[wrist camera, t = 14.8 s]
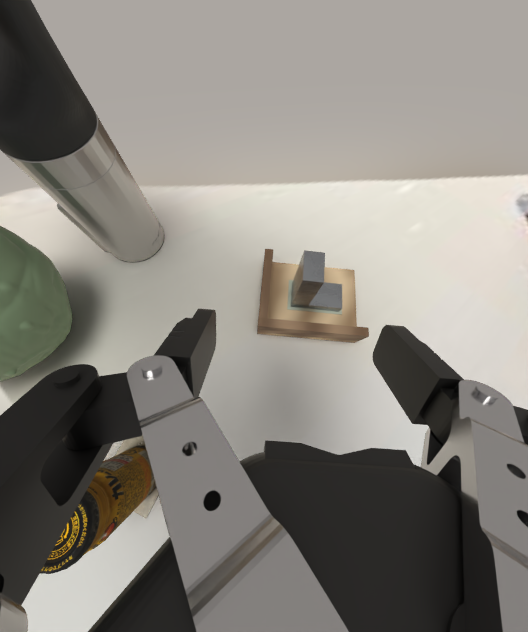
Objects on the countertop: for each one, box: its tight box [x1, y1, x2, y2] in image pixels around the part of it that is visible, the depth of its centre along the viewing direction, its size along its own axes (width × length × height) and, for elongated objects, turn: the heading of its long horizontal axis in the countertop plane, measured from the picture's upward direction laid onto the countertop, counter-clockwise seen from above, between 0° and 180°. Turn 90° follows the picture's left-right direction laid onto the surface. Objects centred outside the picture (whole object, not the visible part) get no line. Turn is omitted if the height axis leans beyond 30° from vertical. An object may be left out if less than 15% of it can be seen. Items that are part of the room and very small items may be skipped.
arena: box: [257, 262, 357, 343], centre depth 35 cm, size 15×12×1 cm
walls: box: [257, 249, 369, 341], centre depth 33 cm, size 15×12×4 cm
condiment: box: [39, 436, 158, 574], centre depth 23 cm, size 7×8×12 cm
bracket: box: [291, 251, 342, 312], centre depth 31 cm, size 8×4×9 cm, turn 84°
